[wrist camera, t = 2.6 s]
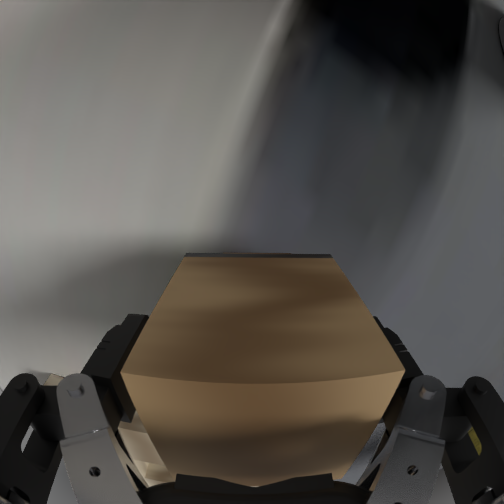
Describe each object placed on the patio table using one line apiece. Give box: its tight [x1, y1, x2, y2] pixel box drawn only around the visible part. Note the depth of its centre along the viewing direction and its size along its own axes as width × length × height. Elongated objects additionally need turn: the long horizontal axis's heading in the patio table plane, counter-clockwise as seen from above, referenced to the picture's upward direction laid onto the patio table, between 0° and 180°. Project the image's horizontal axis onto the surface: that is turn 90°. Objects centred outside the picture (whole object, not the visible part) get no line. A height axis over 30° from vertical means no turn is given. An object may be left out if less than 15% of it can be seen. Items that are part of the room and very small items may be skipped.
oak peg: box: [120, 253, 405, 486], centre depth 10 cm, size 6×6×10 cm
